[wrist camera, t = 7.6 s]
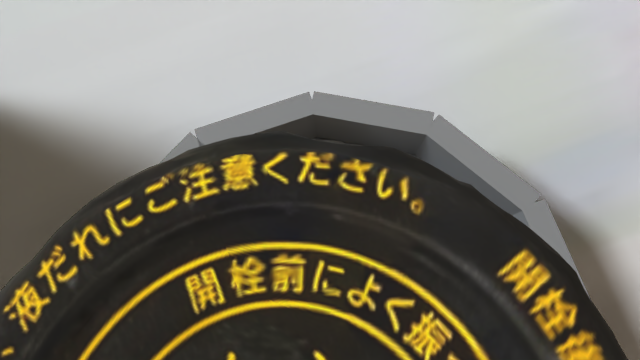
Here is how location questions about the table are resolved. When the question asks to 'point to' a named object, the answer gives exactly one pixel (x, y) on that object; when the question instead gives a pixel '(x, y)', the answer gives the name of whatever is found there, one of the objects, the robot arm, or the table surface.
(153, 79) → the table surface
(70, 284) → the condiment
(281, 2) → the table surface
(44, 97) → the table surface
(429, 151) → the round grey tray
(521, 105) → the table surface
